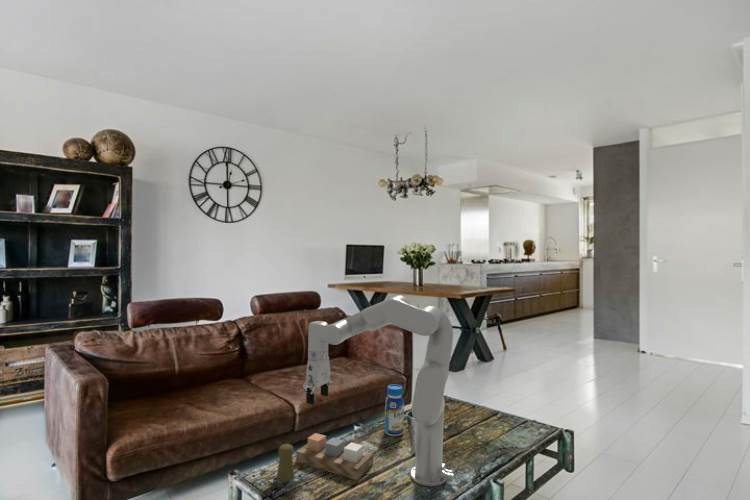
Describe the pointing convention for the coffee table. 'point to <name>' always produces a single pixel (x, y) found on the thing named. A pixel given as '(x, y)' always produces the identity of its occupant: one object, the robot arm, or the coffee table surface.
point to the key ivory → (353, 452)
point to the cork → (285, 463)
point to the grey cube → (334, 447)
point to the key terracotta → (316, 442)
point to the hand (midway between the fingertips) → (317, 399)
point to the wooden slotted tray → (334, 462)
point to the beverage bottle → (394, 410)
